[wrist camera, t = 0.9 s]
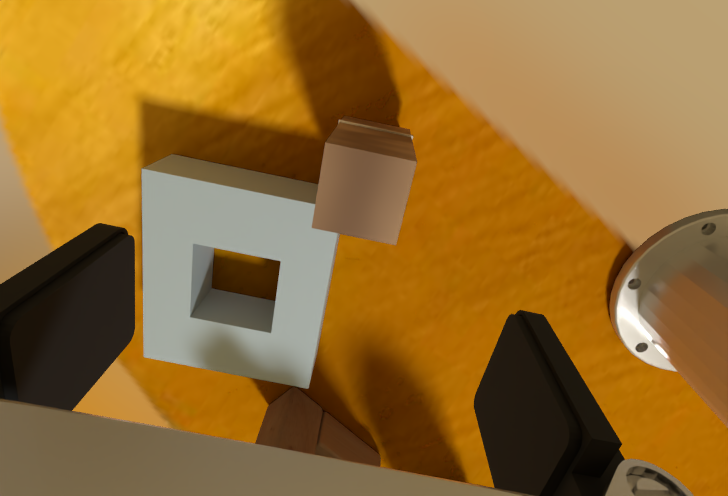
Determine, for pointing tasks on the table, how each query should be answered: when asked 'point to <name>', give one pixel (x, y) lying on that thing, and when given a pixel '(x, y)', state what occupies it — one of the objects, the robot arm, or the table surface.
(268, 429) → the wooden block structure
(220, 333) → the grey square-hole block
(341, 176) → the peg
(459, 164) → the table surface
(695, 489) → the table surface
